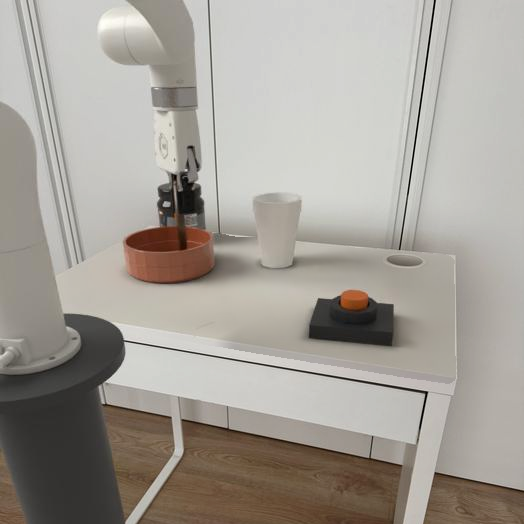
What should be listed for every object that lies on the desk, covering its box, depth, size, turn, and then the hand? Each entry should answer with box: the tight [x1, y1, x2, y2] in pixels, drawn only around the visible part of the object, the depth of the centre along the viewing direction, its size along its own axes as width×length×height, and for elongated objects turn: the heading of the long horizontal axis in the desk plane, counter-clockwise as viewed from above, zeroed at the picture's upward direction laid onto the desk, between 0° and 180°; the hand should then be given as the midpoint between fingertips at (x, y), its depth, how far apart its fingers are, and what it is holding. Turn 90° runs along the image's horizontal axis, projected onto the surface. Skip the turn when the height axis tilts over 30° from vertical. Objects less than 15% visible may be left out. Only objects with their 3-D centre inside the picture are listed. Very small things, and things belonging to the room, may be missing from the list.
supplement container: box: [156, 182, 207, 230], centre depth 116 cm, size 10×10×12 cm
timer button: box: [340, 289, 369, 310], centre depth 77 cm, size 4×4×2 cm
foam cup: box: [252, 191, 303, 269], centre depth 102 cm, size 10×9×13 cm
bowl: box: [122, 226, 216, 284], centre depth 102 cm, size 17×17×6 cm
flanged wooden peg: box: [173, 180, 187, 251], centre depth 96 cm, size 4×4×16 cm
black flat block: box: [308, 294, 395, 347], centre depth 79 cm, size 10×12×4 cm
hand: (183, 210), depth 95 cm, fingers closed on flanged wooden peg
